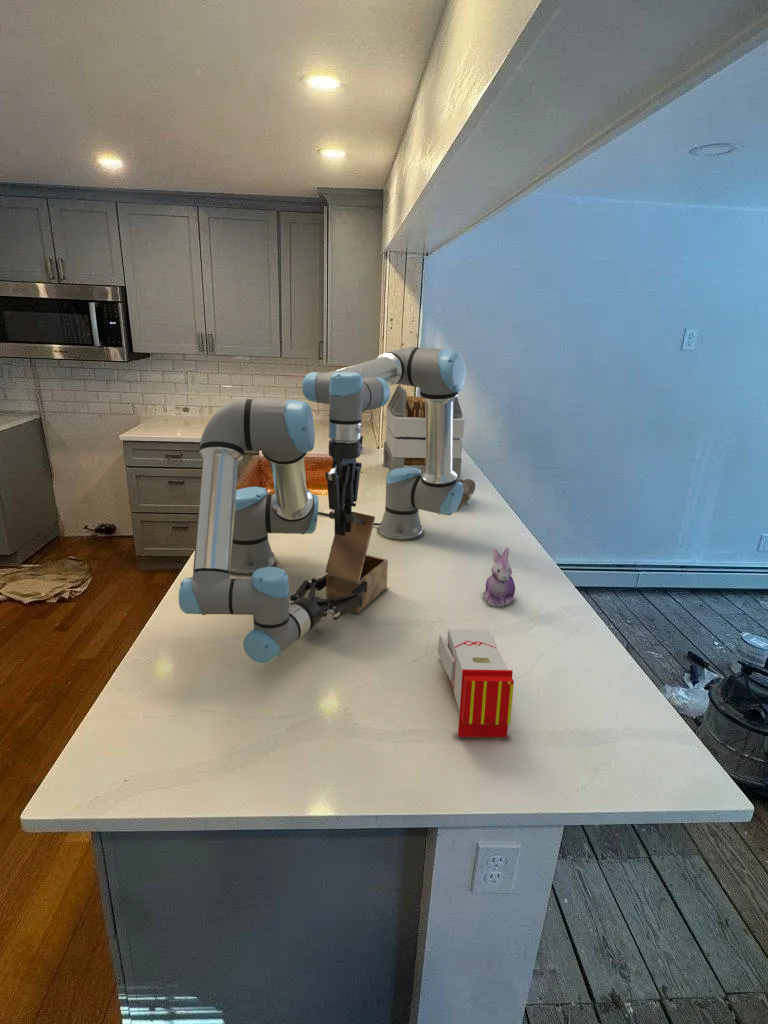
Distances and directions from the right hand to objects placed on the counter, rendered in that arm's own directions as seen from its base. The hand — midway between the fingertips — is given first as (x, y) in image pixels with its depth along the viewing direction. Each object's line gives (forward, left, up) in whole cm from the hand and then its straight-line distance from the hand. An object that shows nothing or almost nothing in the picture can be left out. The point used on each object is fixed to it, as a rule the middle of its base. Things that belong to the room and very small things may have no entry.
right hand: (342, 532), depth 141 cm
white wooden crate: (-83, +109, -22) cm, 139 cm away
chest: (-3, +8, -22) cm, 23 cm away
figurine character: (-133, +109, -22) cm, 174 cm away
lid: (-2, +4, -5) cm, 7 cm away
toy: (+44, +1, -22) cm, 49 cm away
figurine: (+22, +38, -22) cm, 49 cm away
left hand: (-1, +3, -15) cm, 16 cm away
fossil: (-41, +90, -22) cm, 102 cm away
